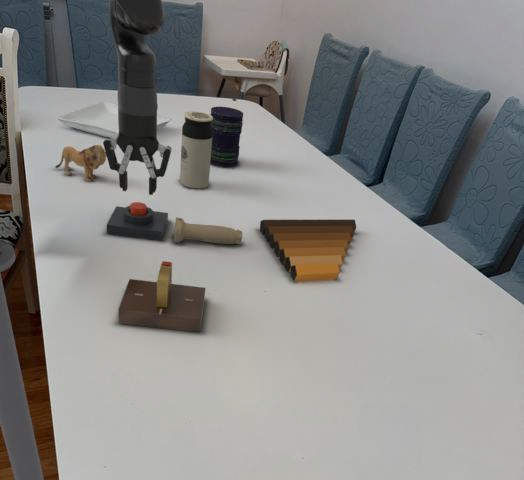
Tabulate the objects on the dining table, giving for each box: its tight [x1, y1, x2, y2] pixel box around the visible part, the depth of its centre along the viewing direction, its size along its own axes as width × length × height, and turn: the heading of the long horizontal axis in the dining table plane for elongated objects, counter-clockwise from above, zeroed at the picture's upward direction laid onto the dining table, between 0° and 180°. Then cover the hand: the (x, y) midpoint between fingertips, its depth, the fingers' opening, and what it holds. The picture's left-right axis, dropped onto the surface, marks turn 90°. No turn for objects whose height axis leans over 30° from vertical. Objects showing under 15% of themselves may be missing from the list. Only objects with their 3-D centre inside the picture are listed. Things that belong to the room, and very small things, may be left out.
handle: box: [173, 216, 243, 245], centre depth 112 cm, size 5×6×15 cm
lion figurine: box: [54, 144, 107, 182], centre depth 129 cm, size 15×5×9 cm, turn 77°
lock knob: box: [156, 260, 173, 308], centre depth 86 cm, size 6×2×6 cm, turn 1°
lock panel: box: [117, 278, 206, 333], centre depth 89 cm, size 14×10×3 cm
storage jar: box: [210, 98, 244, 169], centre depth 151 cm, size 10×10×18 cm
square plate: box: [56, 101, 173, 139], centre depth 165 cm, size 27×27×4 cm
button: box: [129, 201, 148, 215], centre depth 111 cm, size 4×4×2 cm
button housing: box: [106, 205, 169, 241], centre depth 113 cm, size 12×10×4 cm
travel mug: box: [179, 110, 213, 189], centre depth 133 cm, size 8×8×18 cm
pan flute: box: [259, 219, 357, 282], centre depth 117 cm, size 25×3×25 cm
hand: (138, 191), depth 109 cm, fingers open, 5 cm apart
